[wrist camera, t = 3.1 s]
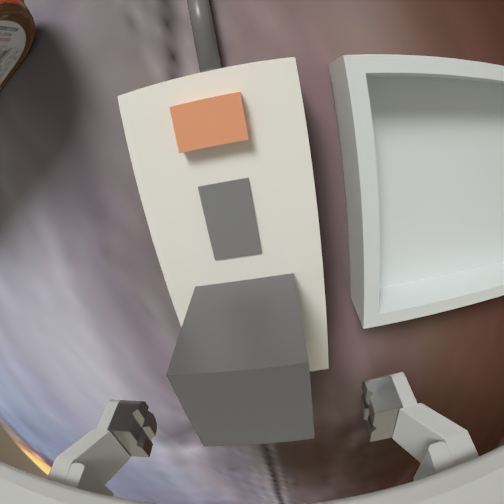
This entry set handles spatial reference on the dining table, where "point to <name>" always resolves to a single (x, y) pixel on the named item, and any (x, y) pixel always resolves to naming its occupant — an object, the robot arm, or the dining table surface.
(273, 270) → the power strip
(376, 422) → the robot arm
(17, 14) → the tin
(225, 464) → the dining table surface
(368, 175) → the tray
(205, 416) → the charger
